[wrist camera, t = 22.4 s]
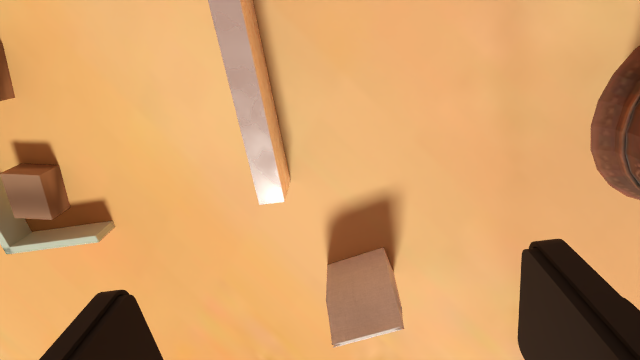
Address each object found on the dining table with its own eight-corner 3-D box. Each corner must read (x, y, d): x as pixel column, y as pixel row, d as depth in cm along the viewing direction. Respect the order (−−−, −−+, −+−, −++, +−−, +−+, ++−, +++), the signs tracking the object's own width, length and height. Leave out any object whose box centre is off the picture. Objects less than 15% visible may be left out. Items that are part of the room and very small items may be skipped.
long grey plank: (218, -31, 31) (198, -39, 27) (245, -36, 31) (229, -46, 27) (268, 183, 39) (259, 204, 34) (290, 180, 39) (284, 201, 34)
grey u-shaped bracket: (-92, 3, 34) (-144, 1, 30) (13, -20, 33) (-27, -25, 29) (34, 234, 44) (6, 254, 40) (119, 223, 43) (98, 242, 39)
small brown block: (23, 162, 39) (-1, 173, 37) (60, 164, 39) (39, 175, 36) (36, 204, 41) (14, 217, 39) (71, 206, 41) (52, 219, 38)
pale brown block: (327, 264, 43) (324, 331, 33) (383, 247, 41) (396, 311, 32) (338, 288, 44) (339, 359, 35) (393, 272, 43) (409, 341, 34)
